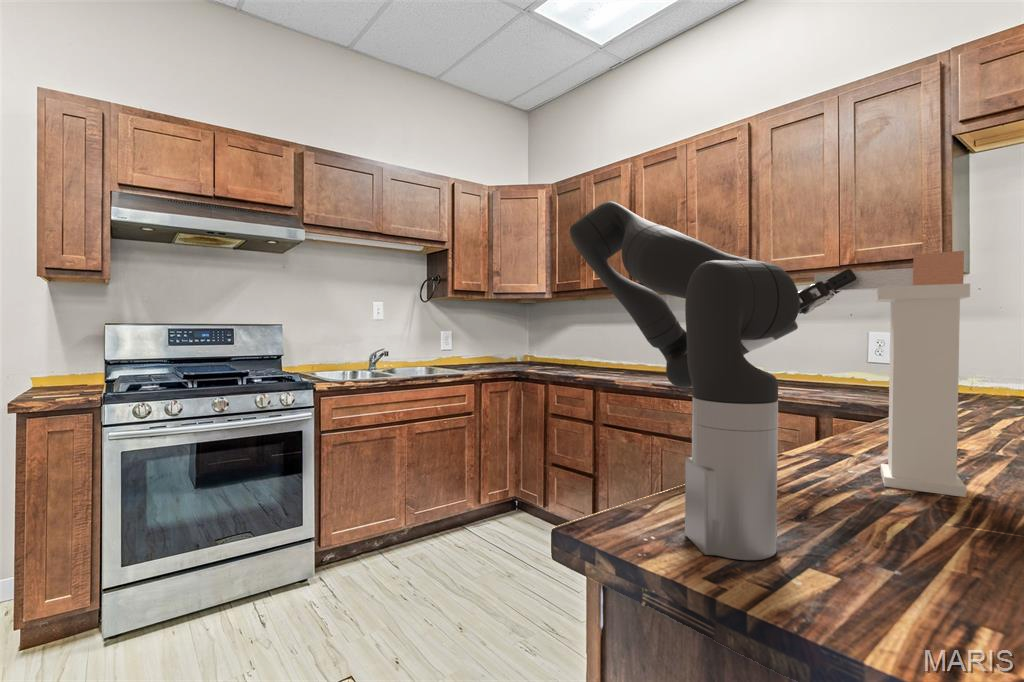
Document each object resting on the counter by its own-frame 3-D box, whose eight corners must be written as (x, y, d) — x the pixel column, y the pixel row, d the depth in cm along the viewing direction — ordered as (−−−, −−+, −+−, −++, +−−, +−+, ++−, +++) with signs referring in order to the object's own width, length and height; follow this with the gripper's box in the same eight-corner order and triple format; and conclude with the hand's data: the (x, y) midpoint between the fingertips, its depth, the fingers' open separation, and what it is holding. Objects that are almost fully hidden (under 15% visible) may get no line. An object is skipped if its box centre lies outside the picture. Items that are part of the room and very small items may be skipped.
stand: (876, 485, 84) (879, 286, 83) (873, 471, 92) (876, 290, 92) (966, 497, 78) (970, 283, 77) (954, 480, 86) (957, 288, 86)
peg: (812, 290, 91) (812, 261, 91) (818, 292, 96) (819, 265, 96) (963, 284, 78) (963, 250, 78) (962, 286, 83) (963, 255, 83)
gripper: (746, 304, 92) (840, 252, 84) (757, 307, 104) (840, 262, 96) (769, 341, 90) (868, 291, 82) (777, 340, 102) (864, 296, 94)
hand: (853, 275), depth 89 cm, fingers open, 8 cm apart
